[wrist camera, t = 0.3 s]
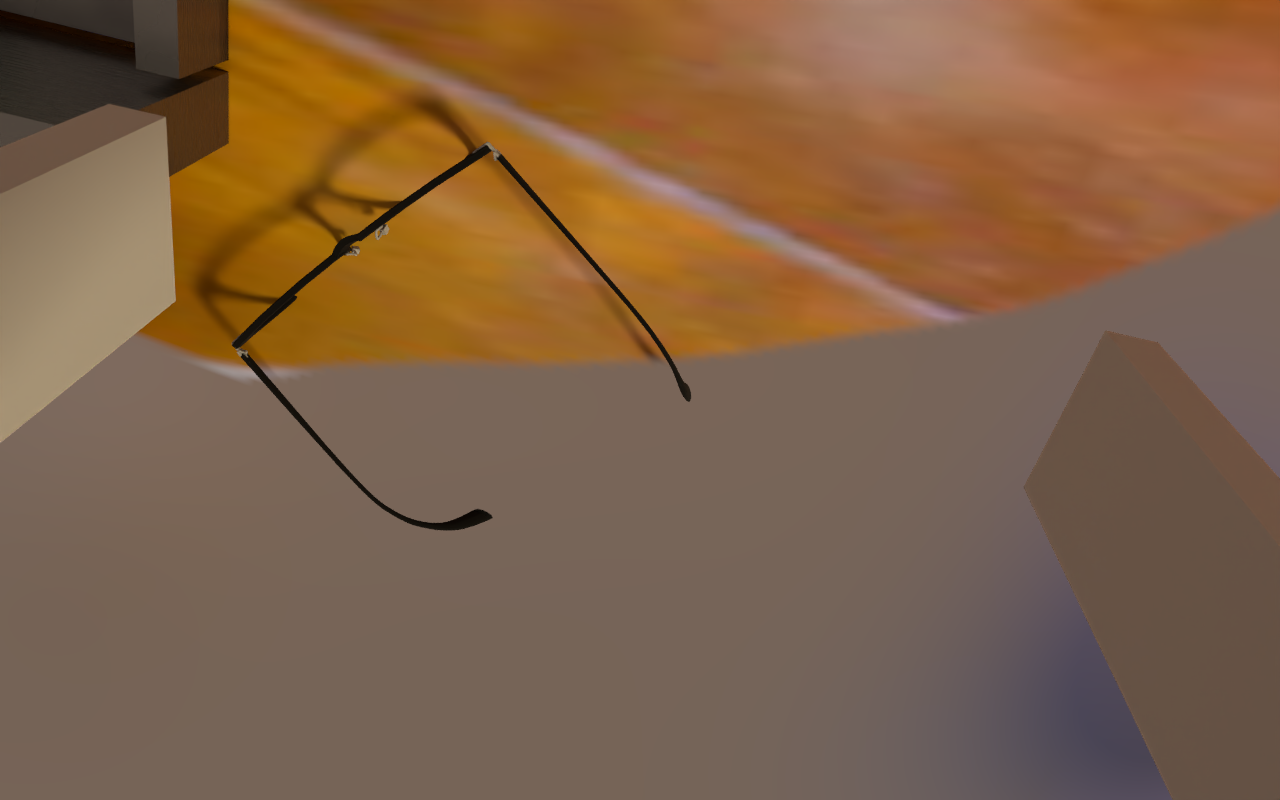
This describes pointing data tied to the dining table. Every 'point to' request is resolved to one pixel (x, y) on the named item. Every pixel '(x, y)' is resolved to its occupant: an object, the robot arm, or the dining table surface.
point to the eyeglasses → (344, 249)
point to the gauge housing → (118, 68)
